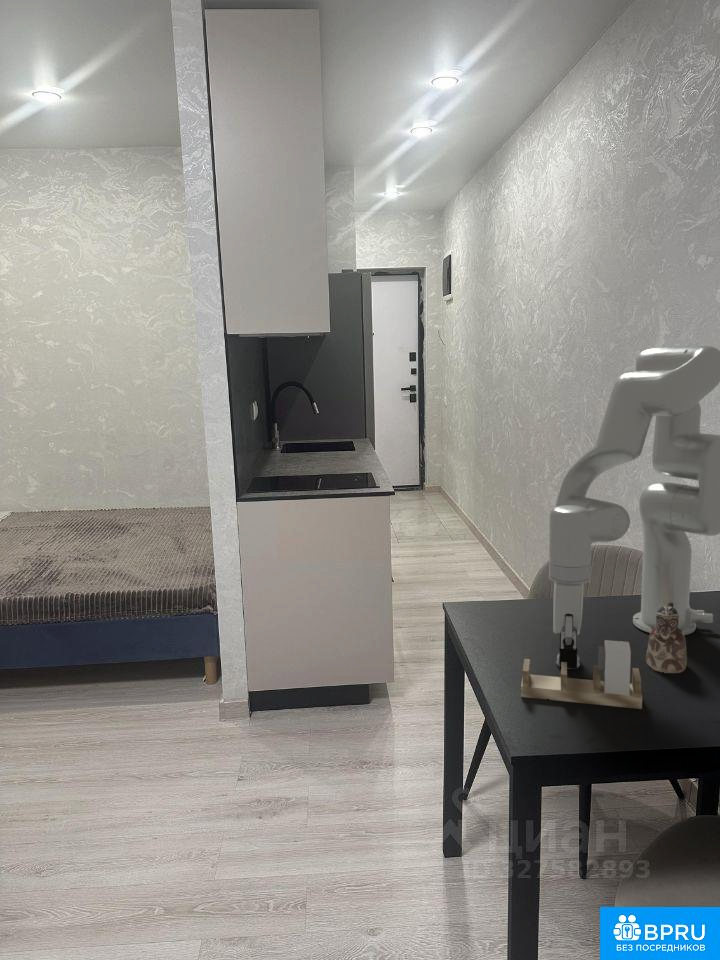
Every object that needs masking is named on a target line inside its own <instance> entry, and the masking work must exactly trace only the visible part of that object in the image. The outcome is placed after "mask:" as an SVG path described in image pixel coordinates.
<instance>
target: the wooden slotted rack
mask: <svg viewBox="0 0 720 960" xmlns="http://www.w3.org/2000/svg"><path fill="white" fill-rule="evenodd" d="M592 667H593V668H592V669H593V670H592V672H593V673H592V679H583V678H573V677H572V678H571V677H568V670H567V662H561V668H560V676H553V675H552V676H551V675H540V674H539V675H538V674H531V659H530V658H524V659H523V666H522V678H521V685H520V697H521V698H527V699H538V700H547V699H549V700H550V701H559V702H566V703H567V702H568V703H579V704H588V705H599V706H608V707H617V708H626V709H627V708H628V709H637V710H643V696H642V678H641V674H640V668H637V667H632V670H631V674H632V675H631V683H630V692H629V695H619V694H608V693H605V692H604V683H603V682H604V680H601V670H599V666H598V664H593V666H592Z"/></svg>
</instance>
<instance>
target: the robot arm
mask: <svg viewBox="0 0 720 960" xmlns="http://www.w3.org/2000/svg"><path fill="white" fill-rule="evenodd" d="M719 384H720V349H718V348H716V347H715V346H712V345H711V346H710V345H683V346H681V345H680V346H679V345H677V346H676V345H673V346H656V347H650V348H647V349H645V350H643V351H641V352H640V353H639V354H638V355H637V357H636V361H635V371H631V372H630V371H629V372H625V373H623V374H621V375H620V376H619V377H617V379H616V380H615V383H614V384H613V387H612V390H611V393H610V396H609V399H608V404H607V406H606V410H605V412H604V416H603V420H602V423H601V426H600V429H599V433H598V436H597V438H596V442H595V443H594V445H593V446H592V447H591V448H589V450H588V451H586V452H585V453H584V454H583V455H582V456H581V457H580V458H578V460H577V461H576V462H575V463H574V464H573V465H572V466H571V467H570V468H569V470H568V472H566V475H565V476H564V478H563V480H562V482H561V485H560V489H559V492H558V496H557V499H556V502H555V503H556V504H555V507H554V508H552V509H551V511H550V513H549V541H548V542H549V543H548V545H549V547H548V550H549V553H548V554H549V555H548V557H549V559H548V562H549V563H548V579H549V580H550V581H552V582H553V611H552V612H553V618H552V619H553V622H552V625H553V627H552V629H553V630H552V632H553V633H554V634H559V647H558V648H559V652H558V654H559V666H558V668H560V667H561V662H567V668H570V669H574V670H577V669H578V668H577V654H578V647H577V645H578V643H577V641H578V639H577V638H578V635H579V634H581V627H582V617H583V607H584V605H583V603H584V584H587V583H589V582H590V581H591V565H592V561H591V559H592V544H594V543H610V542H614V541H617V540H619V539H621V538H622V537H624V536H625V534H626V533H627V532H628V530H629V528H630V524H631V518H630V515H629V513H628V511H627V510H626V508H625V507H623V506H622V505H620V504H618V503H615V502H612V501H606V500H600V499H595V498H590V497H587V494H588V490H589V488H590V487H591V485H592V484H593V482H594V481H595V480H596V479H597V478H598V477H599V476H600V475H602V474H603V473H605V472H607V471H609V470H611V469H614V468H616V467H619V466H621V465H624V464H627V463H631V462H632V461H635V460H636V459H638V458H640V456H641V454H642V452H643V448H644V445H645V442H646V439H647V434H648V431H649V429H650V425H651V421H652V419H653V417H655V423H654V424H655V425H654V434H653V444H652V453H651V454H652V457H651V458H652V459H651V460H652V461H651V462H652V467H653V469H654V470H655V472H656V473H658V474H660V475H663V476H667V477H672V478H677V479H678V478H679V479H686V480H693V481H698V486H692V485H687V484H682V483H675V482H674V483H673V482H666V481H664V482H663V481H662V482H661V481H660V482H654V483H652V484H649V485H648V486H646V487H645V488H644V489H643V491H642V493H641V495H640V497H639V501H638V503H639V505H638V507H639V515H640V519H641V526H642V539H643V540H642V545H643V546H642V567H641V569H642V573H641V594H640V595H641V597H640V598H641V599H640V600H641V601H640V611H639V612H637V613H634V615H633V616H632V623H633V625H634V626H635V627H636V628H638V629H639V630H641V631H643V632H645V633H649V634H650V632H651V630H652V629H653V628H654V627H655V626H656V614H657V611H658V610H659V609H660V608H661V607H662V606H667V604H668V602H672V603H673V608H675V609H676V611H677V612H678V614H679V618H678V628H679V629H680V630H681V631H682V632H683V634H684V636H688V635H690V634H693V633H694V632H695V631H696V628H697V624H696V623H698V622H700V623H701V622H702V623H709V624H710V623H713V622H714V615H713V613H707V612H705V610H703V609H697V610H696V609H693V608H691V606H690V592H691V590H690V589H691V571H692V569H691V568H692V567H691V566H692V565H691V564H692V545H691V543H690V539H689V537H688V535H687V533H689V534H695V535H700V536H705V537H713V536H714V537H715V536H718V535H719V534H720V435H718V434H712V433H711V434H710V433H701V430H700V429H701V416H702V415H701V414H702V410H701V405H700V401H701V400H703V399H705V397H707V395H709V394H710V393H711V392H713V391H714V389H716V388H717V386H719ZM563 629H565V631H563ZM572 630H574V632H572ZM564 635H565V638H564ZM572 636H573V639H572ZM576 668H577V669H576Z"/></svg>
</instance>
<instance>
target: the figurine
mask: <svg viewBox="0 0 720 960" xmlns="http://www.w3.org/2000/svg"><path fill="white" fill-rule="evenodd" d="M678 618H679V614H678V612H677V611H676V609H675V608H673V603H672V602H668V604H667V606H662V607H661V608H660V609H659V610H658V611H657V614H656V626H655V627H654V628H653V629H652V630H651V632H650V633H649V635H648V643H647V650H646V654H645V662H646V664H647V666H649V667H650V668H651V669H652V670H653V671H656V672H660V673H663V672H664V674H680V673H683V672H684V671H685V670H686V668H687V665H688V664H687V662H688V661H687V660H688V656H687V655H688V654H687V641H686V637H685V635H684V634H683V632H682V631H681V630H680V629H679V628H678Z"/></svg>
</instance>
